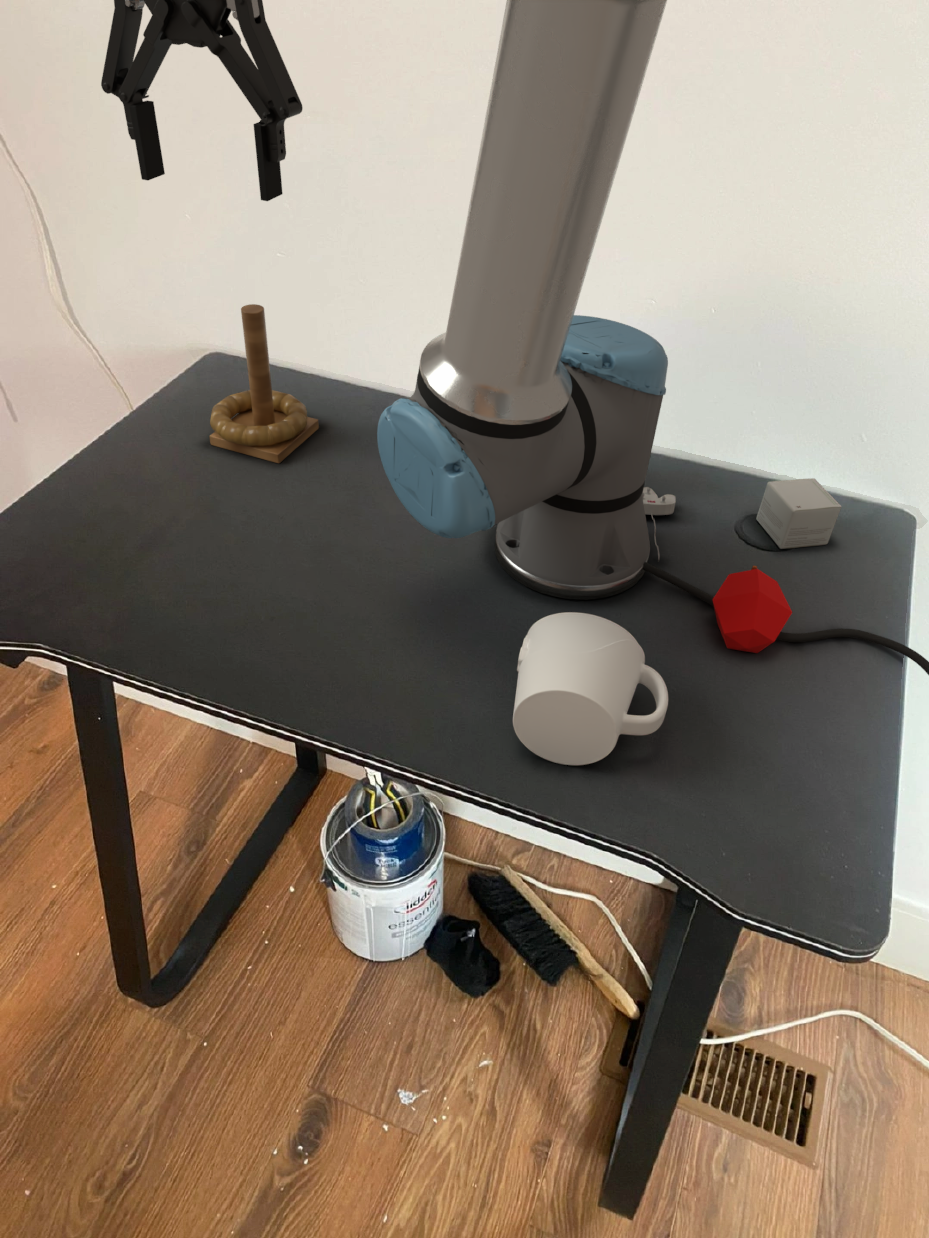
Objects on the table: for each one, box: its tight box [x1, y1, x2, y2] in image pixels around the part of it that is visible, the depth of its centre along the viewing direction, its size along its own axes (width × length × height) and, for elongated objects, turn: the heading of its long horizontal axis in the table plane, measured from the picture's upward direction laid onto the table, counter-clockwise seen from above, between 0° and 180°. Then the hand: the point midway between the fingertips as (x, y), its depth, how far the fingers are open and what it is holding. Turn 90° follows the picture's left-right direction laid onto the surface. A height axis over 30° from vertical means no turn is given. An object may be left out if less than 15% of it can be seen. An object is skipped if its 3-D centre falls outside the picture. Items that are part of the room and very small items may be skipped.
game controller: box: [642, 486, 677, 562], centre depth 96 cm, size 6×12×3 cm, turn 15°
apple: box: [712, 565, 793, 654], centre depth 82 cm, size 7×7×8 cm
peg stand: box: [209, 303, 320, 464], centre depth 102 cm, size 9×9×15 cm
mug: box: [512, 611, 669, 766], centre depth 72 cm, size 12×9×8 cm
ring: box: [209, 389, 308, 446], centre depth 105 cm, size 11×11×2 cm
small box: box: [755, 477, 843, 550], centre depth 95 cm, size 6×6×5 cm
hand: (211, 187), depth 90 cm, fingers open, 13 cm apart
